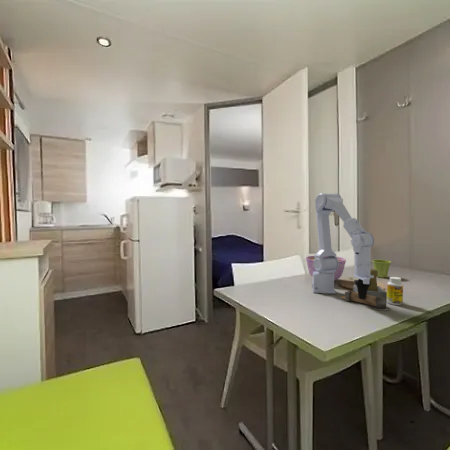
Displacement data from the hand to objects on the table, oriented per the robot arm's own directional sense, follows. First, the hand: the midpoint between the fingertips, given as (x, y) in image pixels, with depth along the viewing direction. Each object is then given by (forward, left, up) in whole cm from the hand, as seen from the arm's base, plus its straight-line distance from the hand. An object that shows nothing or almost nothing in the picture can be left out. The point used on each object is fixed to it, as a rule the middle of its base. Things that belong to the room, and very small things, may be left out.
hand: (362, 298), depth 121 cm
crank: (+2, +1, -2) cm, 3 cm away
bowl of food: (-10, +40, -3) cm, 41 cm away
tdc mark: (-5, +9, -2) cm, 10 cm away
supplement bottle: (+13, +5, -3) cm, 14 cm away
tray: (+6, +16, -3) cm, 17 cm away
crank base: (+6, -2, -2) cm, 7 cm away
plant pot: (+21, +56, -3) cm, 59 cm away
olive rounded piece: (+6, +15, -2) cm, 16 cm away
